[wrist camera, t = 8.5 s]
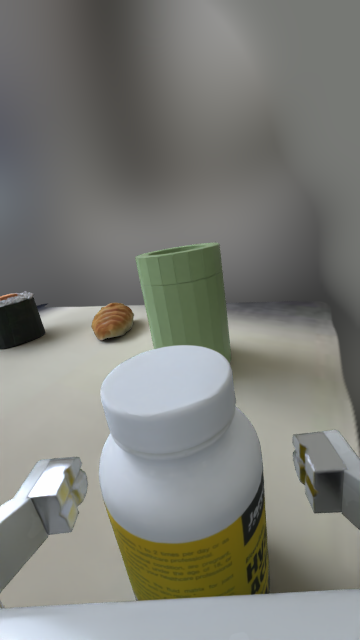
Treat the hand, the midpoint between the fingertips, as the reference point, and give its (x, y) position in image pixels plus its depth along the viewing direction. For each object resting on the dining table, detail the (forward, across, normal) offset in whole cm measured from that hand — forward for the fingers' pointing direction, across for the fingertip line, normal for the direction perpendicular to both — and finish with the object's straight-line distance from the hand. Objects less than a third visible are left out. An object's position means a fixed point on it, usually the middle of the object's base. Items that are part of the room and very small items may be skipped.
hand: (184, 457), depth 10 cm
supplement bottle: (-1, 0, -6) cm, 6 cm away
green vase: (+18, 0, -6) cm, 19 cm away
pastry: (+32, -13, -6) cm, 35 cm away
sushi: (+35, -31, -6) cm, 47 cm away
